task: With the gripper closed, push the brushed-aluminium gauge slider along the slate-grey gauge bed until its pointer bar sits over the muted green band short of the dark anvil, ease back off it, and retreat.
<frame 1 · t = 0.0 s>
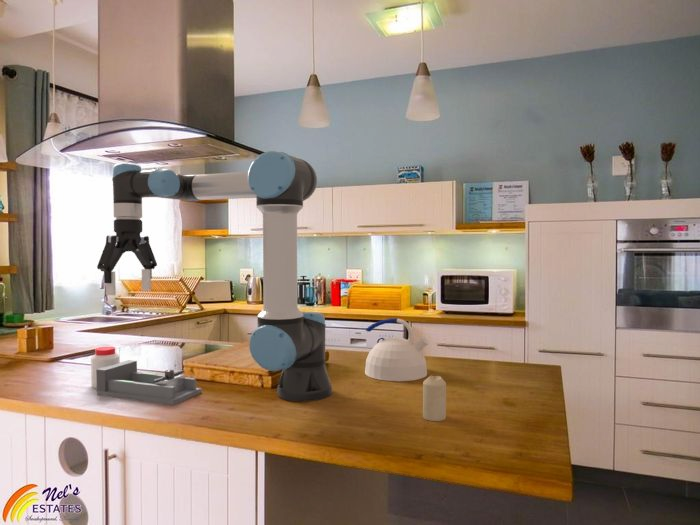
hand: (129, 293, 148), 28 cm above the worktop, fingers open, 13 cm apart
kettle: (396, 374, 167), on the worktop
gauge bed: (149, 393, 144), on the worktop
white shouldered cylinder: (434, 418, 124), on the worktop
pill bottle: (106, 385, 154), on the worktop
slider: (169, 381, 142), point 4 cm above the worktop, slide at 0.0 cm
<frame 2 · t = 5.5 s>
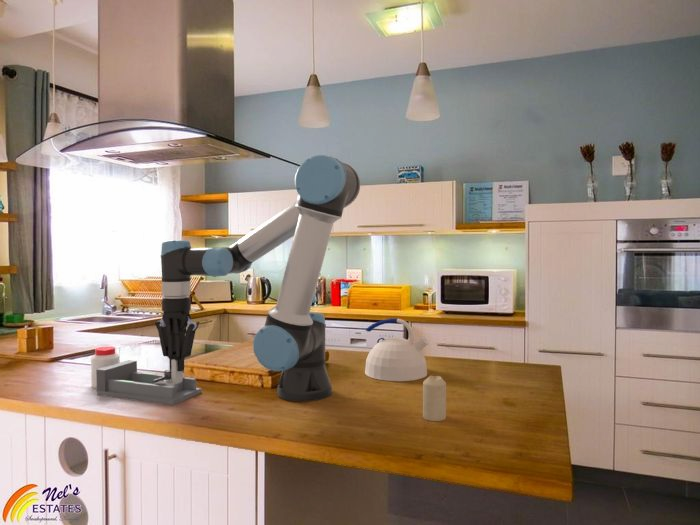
hand: (177, 382, 141), 4 cm above the worktop, fingers closed
slider: (169, 381, 142), point 4 cm above the worktop, slide at 0.2 cm, touching gripper
everything else where it was.
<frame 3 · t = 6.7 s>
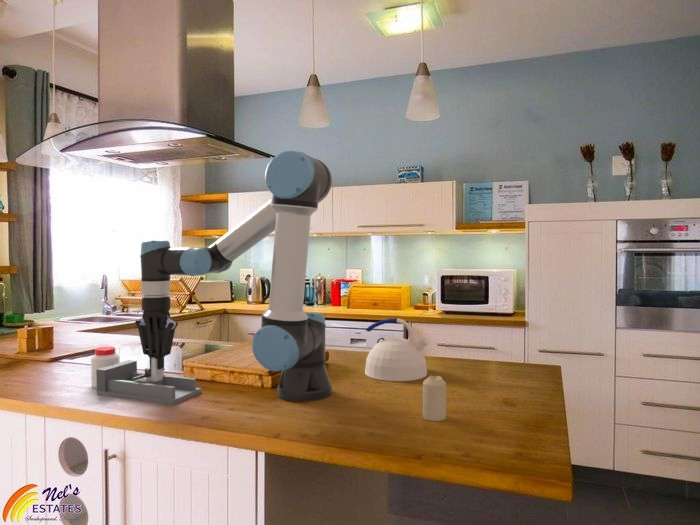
hand: (157, 380, 143), 4 cm above the worktop, fingers closed
slider: (149, 378, 144), point 4 cm above the worktop, slide at 7.0 cm, touching gripper
everything else where it was.
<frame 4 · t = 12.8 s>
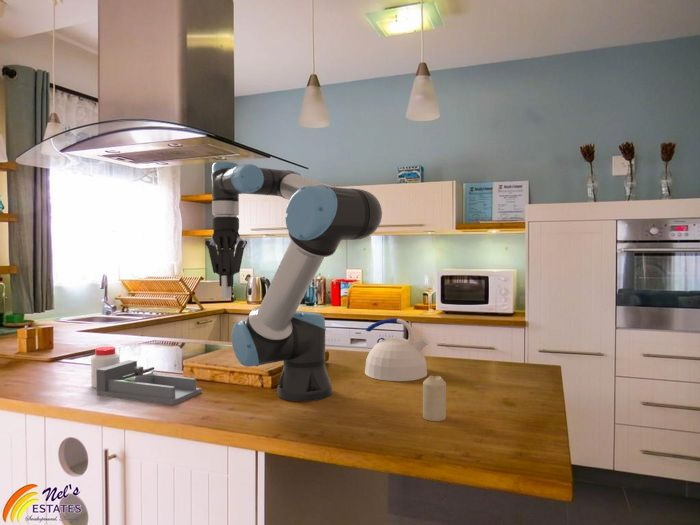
hand: (226, 297, 149), 26 cm above the worktop, fingers closed
slider: (138, 377, 145), point 4 cm above the worktop, slide at 10.7 cm
everything else where it was.
at the end: slider slide at 10.7 cm; slider touching nothing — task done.
